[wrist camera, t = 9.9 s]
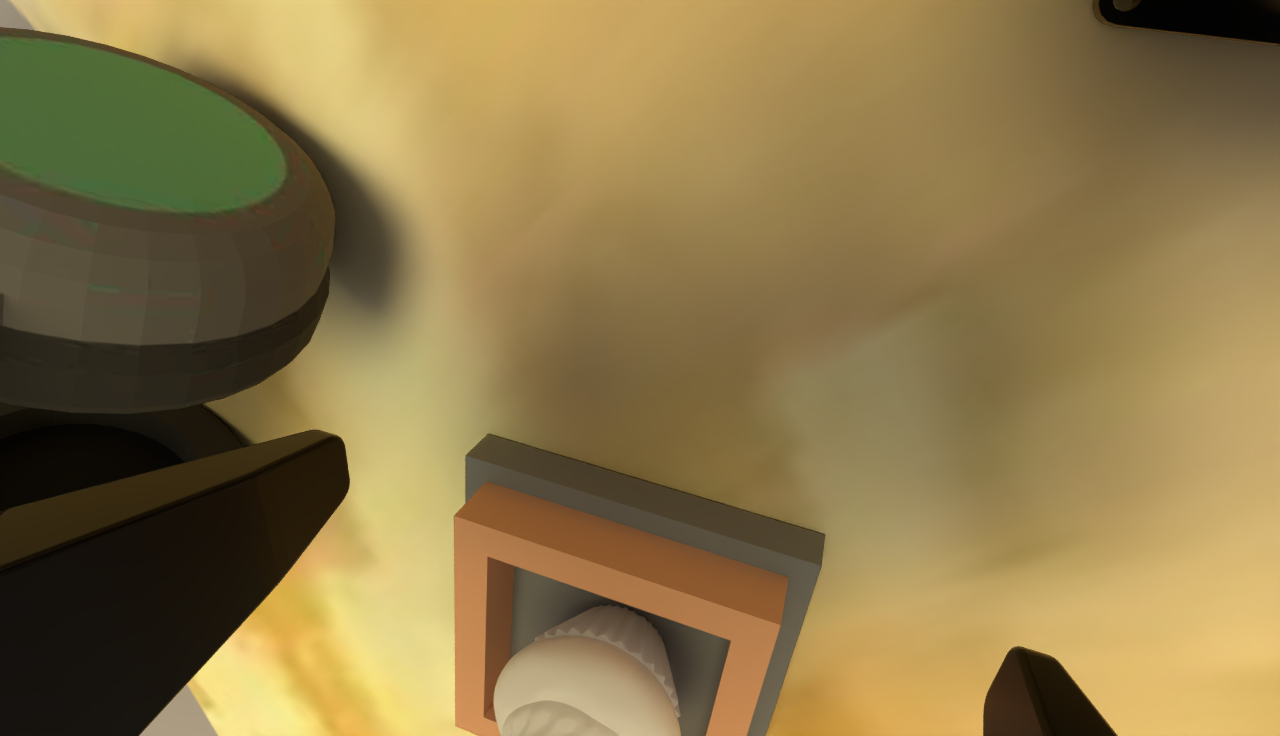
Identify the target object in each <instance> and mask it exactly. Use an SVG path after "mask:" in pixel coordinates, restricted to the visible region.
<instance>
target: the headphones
mask: <svg viewBox="0 0 1280 736" xmlns="http://www.w3.org/2000/svg"><path fill="white" fill-rule="evenodd" d="M335 214H336V213H335V210H334V206H333V203H332V200H331V196H330V193H329V191H328V189H327V187H326V184H325V182H324V180H323V178H322V176H321V174H320V173H319V171H318V169H317V168H316V166H315V165H314V163H313V161H312V160H311V159H310V157H309V156H308V155H307V154H306V153H305V152H304V151H303V150H302V149H301V148H300V147H299V145H298V144H297V143H296V142H295V141H294V140H293V139H291V138H290V137H289V136H288V135H286V134H285V133H284V132H283V131H282V130H280V129H279V128H278V127H277V126H276V125H274V124H273V123H272V122H271V121H269V120H268V119H267V118H266V117H264V116H263V115H262V114H260V113H259V112H257V111H256V110H254V109H253V108H251V107H250V106H248V105H247V104H245V103H244V102H242V101H241V100H239V99H238V98H236V97H234V96H232V95H230V94H228V93H227V92H225V91H223V90H221V89H219V88H217V87H216V86H214V85H212V84H210V83H208V82H206V81H204V80H201V79H199V78H197V77H195V76H192V75H190V74H188V73H186V72H184V71H181V70H179V69H177V68H174V67H171V66H169V65H166V64H163V63H161V62H158V61H155V60H153V59H150V58H147V57H145V56H141V55H138V54H135V53H132V52H128V51H125V50H122V49H118V48H115V47H112V46H108V45H105V44H100V43H96V42H92V41H87V40H83V39H79V38H74V37H70V36H65V35H59V34H52V33H46V32H40V31H34V30H27V29H15V28H2V27H0V511H3V512H5V511H6V510H7V509H9V508H12V507H16V506H20V505H24V504H28V503H32V502H35V501H39V500H43V499H47V498H51V497H55V496H59V495H62V494H66V493H70V492H74V491H78V490H82V489H85V488H89V487H93V486H97V485H101V484H105V483H109V482H112V481H116V480H120V479H124V478H128V477H132V476H136V475H139V474H143V473H147V472H151V471H155V470H159V469H163V468H166V467H170V466H174V465H178V464H182V463H186V462H190V461H193V460H197V459H201V458H205V457H209V456H213V455H217V454H220V453H224V452H228V451H232V450H236V449H240V448H242V446H241V445H240V443H239V442H238V441H237V439H236V438H235V437H234V435H233V434H232V433H231V431H230V430H229V428H228V427H227V426H225V425H224V424H223V423H222V422H221V421H220V420H219V419H218V418H216V417H215V416H214V415H213V414H212V413H211V412H209V411H208V410H206V409H205V408H203V407H201V406H200V405H198V404H201V403H206V402H210V401H214V400H218V399H222V398H226V397H228V396H230V395H233V394H235V393H238V392H240V391H243V390H245V389H247V388H250V387H252V386H255V385H257V384H259V383H261V382H262V381H264V380H265V379H267V378H268V377H270V376H271V375H273V374H274V373H276V372H277V371H279V370H280V369H282V368H283V367H285V366H286V365H287V364H289V363H290V362H291V361H292V360H293V359H294V358H295V357H296V356H297V355H298V354H299V353H300V352H301V351H302V349H303V348H304V347H305V346H306V345H307V344H308V343H309V342H310V340H311V338H312V335H313V333H314V331H315V329H316V327H317V324H318V322H319V320H320V317H321V314H322V311H323V309H324V306H325V303H326V300H327V297H328V294H329V281H330V271H329V266H328V263H329V260H330V257H331V255H332V252H333V242H334V228H335Z"/></svg>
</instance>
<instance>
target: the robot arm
mask: <svg viewBox="0 0 1280 736" xmlns="http://www.w3.org/2000/svg"><path fill="white" fill-rule="evenodd" d="M1093 9H1094V13H1095V16H1096V17H1097V18H1098V19H1099V20H1100V21H1101V22H1102V23H1105V24H1108V25H1110V26H1118V27H1127V28H1135V29H1143V30H1152V31H1160V32H1169V33H1177V34H1186V35H1194V36H1203V37H1211V38H1220V39H1228V40H1237V41H1245V42H1253V43H1262V44H1270V45H1279V46H1280V0H1135V2H1134V3H1133V5H1132V6H1131V7H1130V8H1128V9H1127V10H1125V11H1120V10H1118V9H1116V8H1115V6H1114V4H1113V0H1094V2H1093ZM349 484H350V478H349V471H348V464H347V457H346V449H345V444H344V442H343V440H342V439H341V438H340V437H339V436H337V435H334V434H331V433H328V432H324V431H321V430H309V431H305V432H301V433H297V434H294V435H290V436H286V437H282V438H278V439H274V440H271V441H267V442H263V443H259V444H255V445H251V446H247V447H244V448H240V449H236V450H232V451H228V452H224V453H220V454H217V455H213V456H209V457H205V458H201V459H197V460H193V461H190V462H186V463H182V464H178V465H174V466H170V467H166V468H163V469H159V470H155V471H151V472H147V473H143V474H139V475H136V476H132V477H128V478H124V479H120V480H116V481H112V482H109V483H105V484H101V485H97V486H93V487H89V488H85V489H82V490H78V491H74V492H70V493H66V494H62V495H59V496H55V497H51V498H47V499H43V500H39V501H35V502H32V503H28V504H24V505H20V506H16V507H12V508H9V509H7V510H6V511H5V512H3V511H0V736H139V735H140V734H141V733H142V732H143V731H144V730H145V728H147V726H149V724H150V723H151V722H152V721H153V720H154V719H155V718H156V717H157V716H158V715H159V714H160V712H161V711H162V710H163V709H164V708H165V707H166V706H167V705H168V704H169V703H170V702H171V701H172V699H173V698H174V697H175V696H176V695H177V694H178V693H179V692H180V691H181V690H182V689H183V688H184V686H185V685H186V684H187V683H188V682H189V681H190V680H191V679H192V678H193V677H194V676H195V674H196V673H197V672H198V671H199V670H200V669H201V668H202V667H203V666H204V665H205V664H206V663H207V661H208V660H209V659H210V658H211V657H212V656H213V655H214V654H215V653H216V652H217V651H218V649H219V648H220V647H221V646H222V645H223V644H224V643H225V642H226V641H227V640H228V639H229V638H230V636H231V635H232V634H233V633H234V632H235V631H236V630H237V629H238V628H239V627H240V626H241V625H242V623H243V622H244V621H245V620H246V619H247V618H248V617H249V616H250V615H251V614H252V613H253V611H254V610H255V609H256V608H257V607H258V606H259V605H260V604H261V603H262V602H263V601H264V600H265V598H266V597H267V596H268V595H269V594H270V593H271V592H272V591H273V589H274V588H275V587H276V586H277V585H278V584H279V583H280V581H281V580H282V579H283V578H284V576H285V575H286V574H287V573H288V571H289V570H290V569H291V568H292V566H293V565H294V564H295V562H296V561H297V560H298V559H299V557H300V556H301V555H302V553H303V552H304V551H305V549H306V548H307V547H308V545H309V544H310V543H311V542H312V540H313V539H314V538H315V536H316V535H317V534H318V532H319V531H320V530H321V528H322V527H323V526H324V524H325V523H326V522H327V521H328V519H329V518H330V517H331V515H332V514H333V513H334V511H335V510H336V509H337V507H338V506H339V505H340V504H341V502H342V501H343V500H344V498H345V496H346V494H347V492H348V489H349ZM983 736H1118V735H1117V734H1116V733H1115V732H1114V730H1113V729H1112V728H1111V727H1110V725H1109V724H1108V723H1107V722H1106V720H1105V719H1104V718H1103V717H1102V715H1101V714H1100V713H1099V712H1098V710H1097V709H1096V708H1095V706H1094V705H1093V704H1092V703H1091V701H1090V700H1089V699H1088V698H1087V696H1086V695H1085V694H1084V693H1083V691H1082V690H1081V689H1080V688H1079V686H1078V685H1077V684H1076V682H1075V681H1074V680H1073V679H1072V677H1071V676H1070V675H1069V674H1068V672H1067V671H1066V670H1065V669H1064V667H1063V666H1062V665H1061V664H1060V663H1059V662H1058V661H1057V660H1056V659H1055V658H1054V657H1052V656H1050V655H1047V654H1043V653H1040V652H1037V651H1034V650H1031V649H1027V648H1024V647H1020V646H1017V647H1013V648H1012V649H1011V650H1010V651H1009V652H1008V653H1007V655H1006V657H1005V659H1004V661H1003V663H1002V665H1001V667H1000V669H999V671H998V673H997V675H996V677H995V679H994V680H993V682H992V684H991V686H990V688H989V690H988V693H987V695H986V699H985V704H984V714H983Z"/></svg>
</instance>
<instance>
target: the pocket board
mask: <svg viewBox="0 0 1280 736" xmlns="http://www.w3.org/2000/svg"><path fill="white" fill-rule="evenodd" d="M824 539H825V535H824V534H820V533H817V532H814V531H810V530H807V529H804V528H800V527H797V526H794V525H790V524H787V523H784V522H780V521H777V520H774V519H770V518H767V517H764V516H760V515H757V514H754V513H750V512H747V511H744V510H740V509H737V508H734V507H730V506H727V505H724V504H720V503H717V502H714V501H710V500H707V499H704V498H700V497H697V496H694V495H690V494H687V493H683V492H680V491H677V490H673V489H670V488H667V487H663V486H660V485H657V484H653V483H650V482H647V481H643V480H640V479H637V478H633V477H630V476H627V475H623V474H620V473H617V472H613V471H610V470H607V469H603V468H600V467H597V466H593V465H590V464H587V463H583V462H580V461H577V460H573V459H570V458H567V457H563V456H560V455H557V454H553V453H550V452H547V451H543V450H540V449H537V448H533V447H530V446H527V445H523V444H520V443H517V442H513V441H510V440H507V439H503V438H500V437H497V436H493V435H490V434H487V435H486V436H485V437H484V438H483V439H482V440H481V441H480V442H479V443H478V444H477V445H476V446H475V447H474V448H473V449H472V450H471V451H470V452H469V453H468V454H467V455H466V499H465V505H464V506H463V507H462V508H461V509H460V510H459V511H458V512H457V513H456V514H455V516H454V575H455V726H456V727H459V728H461V729H464V730H466V731H468V732H471V733H473V734H476V735H478V736H501V735H500V732H499V728H498V725H497V721H496V717H495V711H494V691H495V687H496V683H497V680H498V678H499V675H500V674H501V672H502V670H503V668H504V667H505V665H506V664H507V663H508V661H509V660H510V659H511V658H512V657H513V656H514V655H515V654H516V653H518V652H519V651H520V650H522V649H523V648H525V647H526V646H528V645H529V644H531V643H533V642H534V641H535V638H536V637H537V636H539V635H541V634H543V633H545V632H546V631H548V630H550V629H552V628H554V627H556V626H558V625H560V624H562V623H564V622H566V621H568V620H569V619H571V618H573V617H575V616H577V615H579V614H581V613H583V612H585V611H587V610H589V609H591V608H593V607H598V606H600V605H603V606H607V605H612V606H616V605H618V606H619V607H621V608H624V607H626V608H627V609H628V610H630V611H635V612H636V614H638V615H640V616H643V617H645V619H646V621H648V622H651V623H652V627H654V628H656V629H657V630H658V634H659V635H661V637H662V641H663V642H664V645H665V649H666V653H667V656H668V660H669V664H670V669H671V673H672V677H673V681H674V685H675V689H676V693H677V697H678V706H679V710H680V717H678V722H679V727H680V732H681V736H766V733H767V730H768V727H769V724H770V721H771V718H772V715H773V712H774V709H775V706H776V703H777V700H778V697H779V694H780V690H781V687H782V684H783V681H784V678H785V675H786V672H787V669H788V666H789V663H790V660H791V657H792V654H793V651H794V648H795V645H796V642H797V639H798V636H799V633H800V630H801V627H802V624H803V621H804V618H805V615H806V612H807V609H808V605H809V602H810V599H811V596H812V593H813V590H814V587H815V584H816V581H817V578H818V575H819V572H820V569H821V566H822V557H823V548H824Z"/></svg>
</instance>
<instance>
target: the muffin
mask: <svg viewBox="0 0 1280 736" xmlns="http://www.w3.org/2000/svg"><path fill="white" fill-rule="evenodd" d="M494 711H495V717H496V721H497V725H498V728H499V732H500V735H501V736H681V732H680V727H679V722H678V717H680V710H679V706H678V697H677V693H676V689H675V685H674V681H673V677H672V673H671V669H670V664H669V660H668V656H667V653H666V649H665V645H664V642H663V641H662V637H661V635H659V634H658V630H657V629H656V628H654V627H652V623H651V622H648V621H646V619H645V617H643V616H640V615H638V614H636V612H635V611H630V610H628V609H627V608H626V607H624V608H621V607H619V606H618V605H616V606H612V605H607V606H603V605H600V606H598V607H593V608H591V609H589V610H587V611H585V612H583V613H581V614H579V615H577V616H575V617H573V618H571V619H569V620H568V621H566V622H564V623H562V624H560V625H558V626H556V627H554V628H552V629H550V630H548V631H546V632H545V633H543V634H541V635H539V636H537V637H536V638H535V641H534V642H533V643H531V644H529V645H528V646H526V647H525V648H523V649H522V650H520V651H519V652H518V653H516V654H515V655H514V656H513V657H512V658H511V659H510V660H509V661H508V663H507V664H506V665H505V667H504V668H503V670H502V672H501V674H500V675H499V678H498V680H497V683H496V687H495V691H494Z"/></svg>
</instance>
